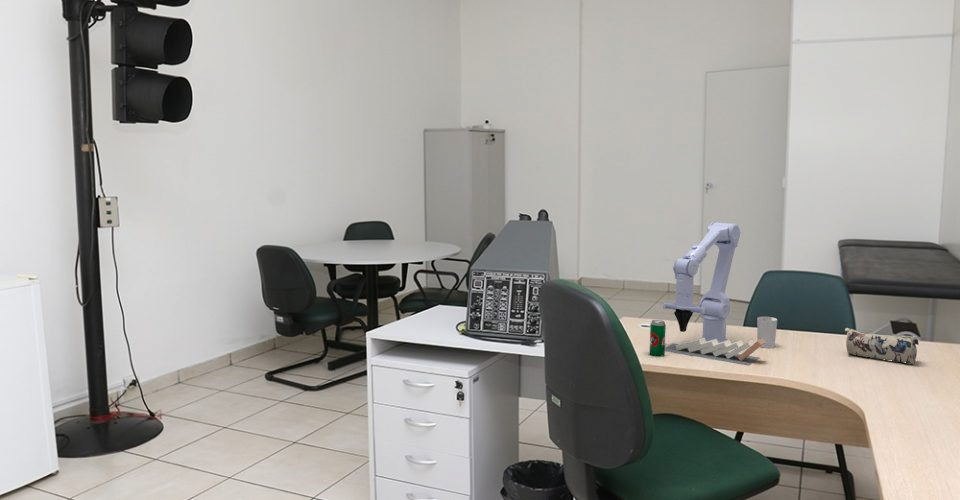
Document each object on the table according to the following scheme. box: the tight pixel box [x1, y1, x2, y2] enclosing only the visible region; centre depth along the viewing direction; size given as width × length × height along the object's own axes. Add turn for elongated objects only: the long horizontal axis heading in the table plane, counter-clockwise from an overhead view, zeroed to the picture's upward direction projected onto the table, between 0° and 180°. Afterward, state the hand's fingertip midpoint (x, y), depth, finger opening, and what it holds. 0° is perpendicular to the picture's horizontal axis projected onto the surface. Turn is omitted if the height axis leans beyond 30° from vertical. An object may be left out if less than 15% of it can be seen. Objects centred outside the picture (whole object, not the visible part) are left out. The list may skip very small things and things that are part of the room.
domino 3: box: [700, 339, 732, 354], centre depth 248 cm, size 2×5×9 cm
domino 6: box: [738, 338, 765, 361], centre depth 240 cm, size 2×5×9 cm
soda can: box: [649, 319, 666, 357], centre depth 248 cm, size 5×5×12 cm
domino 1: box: [676, 337, 706, 350], centre depth 253 cm, size 2×5×9 cm
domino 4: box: [713, 339, 744, 357], centre depth 245 cm, size 2×5×9 cm
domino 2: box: [688, 339, 718, 352], centre depth 251 cm, size 2×5×9 cm
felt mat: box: [665, 343, 761, 366], centre depth 250 cm, size 12×31×1 cm, turn 52°
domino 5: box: [726, 339, 756, 359], centre depth 243 cm, size 2×5×9 cm
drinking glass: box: [756, 316, 778, 349], centre depth 262 cm, size 7×7×10 cm
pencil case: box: [844, 327, 919, 365], centre depth 245 cm, size 22×8×10 cm, turn 50°
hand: (683, 331), depth 255 cm, fingers closed
